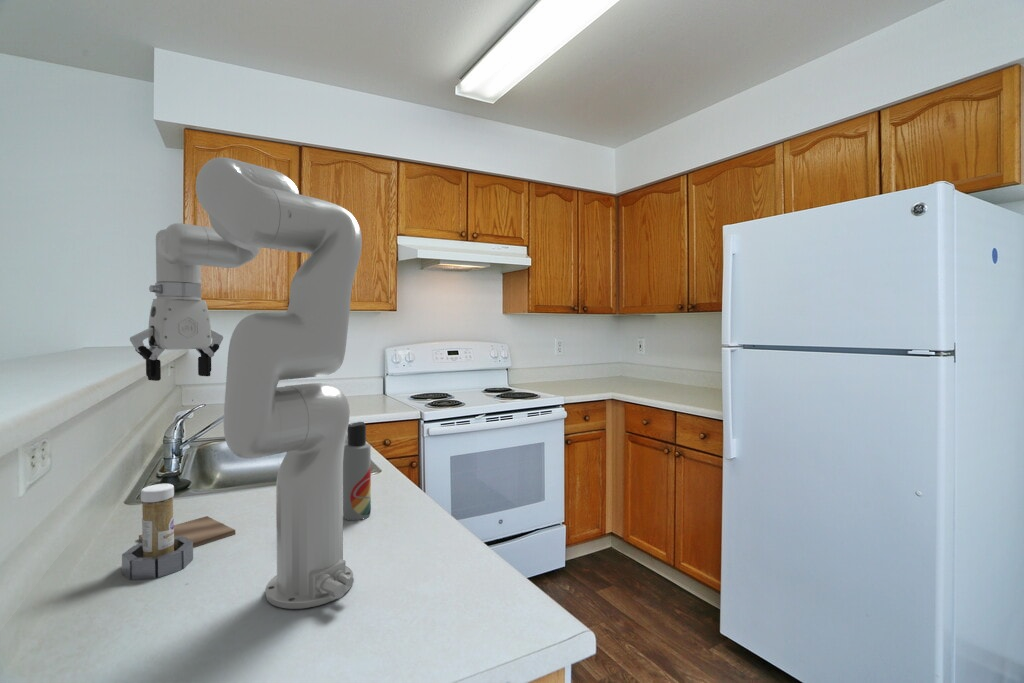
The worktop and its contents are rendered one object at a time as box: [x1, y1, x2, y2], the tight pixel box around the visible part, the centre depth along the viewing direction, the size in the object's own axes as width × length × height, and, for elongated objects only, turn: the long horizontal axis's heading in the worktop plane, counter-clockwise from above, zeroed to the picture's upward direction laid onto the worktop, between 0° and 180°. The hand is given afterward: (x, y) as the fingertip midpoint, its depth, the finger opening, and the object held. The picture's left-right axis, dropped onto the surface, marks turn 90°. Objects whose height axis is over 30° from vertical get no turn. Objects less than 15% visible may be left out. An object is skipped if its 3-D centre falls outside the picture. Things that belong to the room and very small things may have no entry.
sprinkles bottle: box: [140, 483, 175, 557], centre depth 85 cm, size 5×5×13 cm
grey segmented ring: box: [121, 536, 194, 581], centre depth 86 cm, size 9×9×3 cm
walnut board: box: [138, 516, 236, 548], centre depth 97 cm, size 12×12×1 cm
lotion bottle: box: [343, 421, 372, 521], centre depth 108 cm, size 6×6×20 cm
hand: (180, 378), depth 102 cm, fingers open, 9 cm apart
